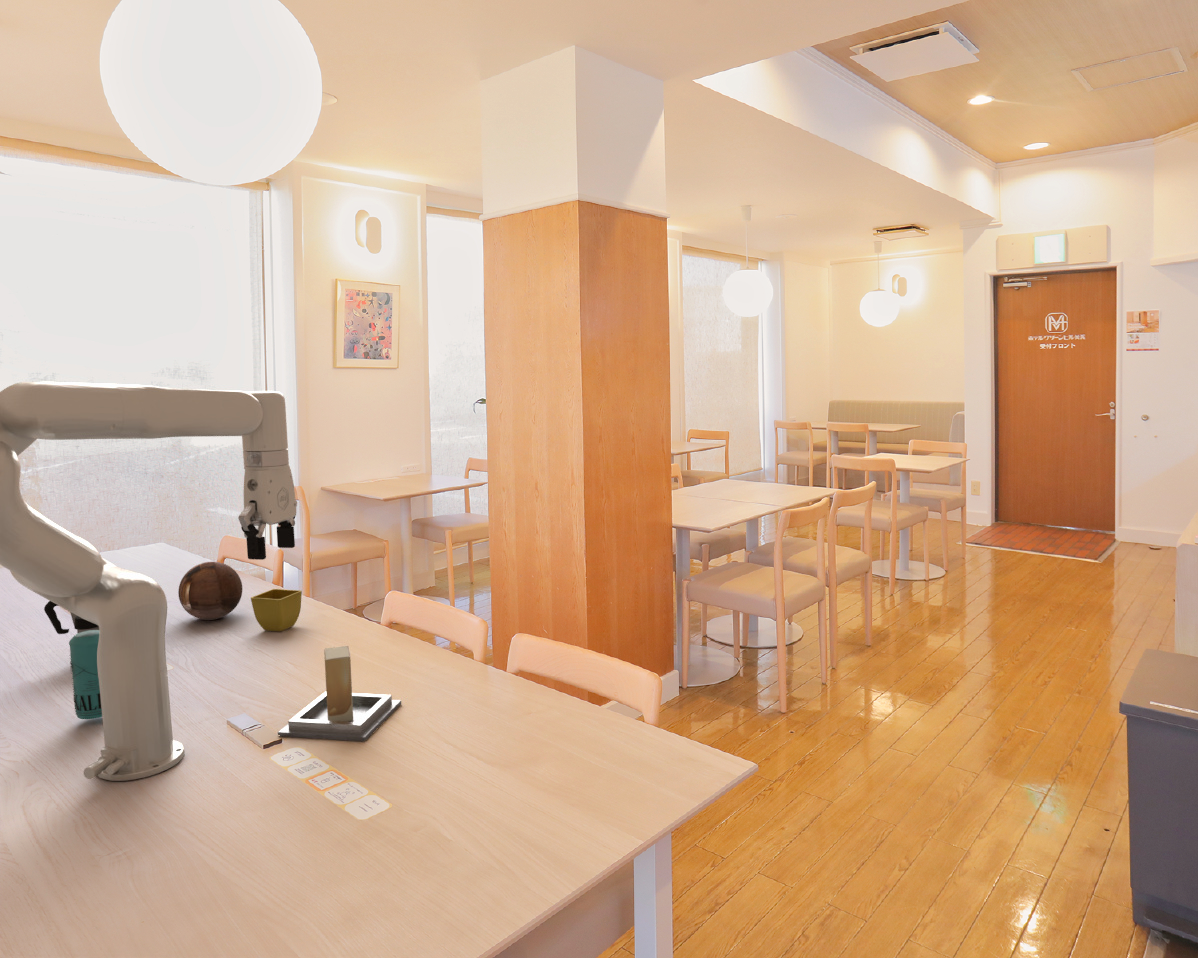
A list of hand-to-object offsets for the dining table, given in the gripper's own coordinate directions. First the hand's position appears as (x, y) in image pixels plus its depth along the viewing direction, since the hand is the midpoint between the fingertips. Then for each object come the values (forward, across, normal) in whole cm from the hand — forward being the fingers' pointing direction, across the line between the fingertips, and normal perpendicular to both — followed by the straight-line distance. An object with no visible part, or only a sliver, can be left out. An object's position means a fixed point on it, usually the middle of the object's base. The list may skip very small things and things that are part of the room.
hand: (272, 553), depth 147 cm
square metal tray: (+30, -2, -13) cm, 33 cm away
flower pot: (+31, +47, +28) cm, 63 cm away
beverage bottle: (+31, -8, +32) cm, 45 cm away
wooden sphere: (+31, +53, +50) cm, 79 cm away
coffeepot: (+31, +20, +57) cm, 68 cm away
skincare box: (+30, -2, -13) cm, 32 cm away
